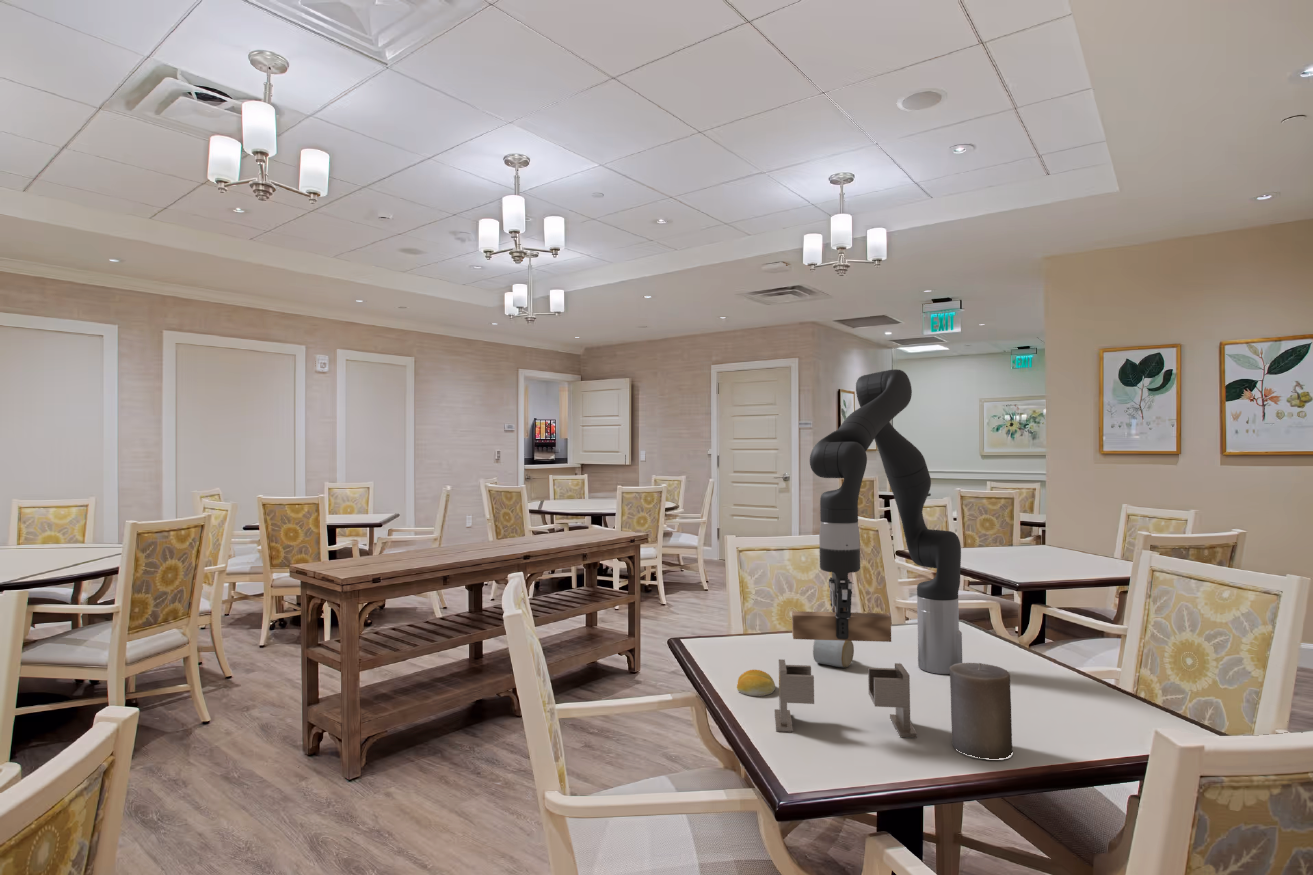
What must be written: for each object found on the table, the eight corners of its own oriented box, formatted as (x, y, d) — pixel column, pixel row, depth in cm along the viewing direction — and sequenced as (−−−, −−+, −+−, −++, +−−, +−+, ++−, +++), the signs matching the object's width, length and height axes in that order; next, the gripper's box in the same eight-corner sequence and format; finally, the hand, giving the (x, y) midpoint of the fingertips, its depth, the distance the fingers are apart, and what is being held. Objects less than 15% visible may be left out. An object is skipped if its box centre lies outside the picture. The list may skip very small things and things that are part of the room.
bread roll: (736, 696, 146) (735, 678, 146) (738, 683, 155) (738, 665, 155) (775, 698, 145) (774, 679, 145) (775, 684, 153) (775, 666, 154)
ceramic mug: (844, 672, 162) (844, 639, 162) (812, 665, 166) (812, 634, 167) (860, 661, 170) (859, 630, 170) (828, 656, 175) (828, 626, 175)
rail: (887, 636, 131) (887, 613, 131) (891, 641, 127) (890, 617, 127) (792, 634, 133) (791, 611, 133) (793, 638, 130) (793, 615, 130)
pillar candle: (1024, 752, 117) (1021, 664, 118) (992, 766, 112) (989, 674, 112) (971, 734, 125) (969, 652, 126) (939, 746, 120) (937, 660, 121)
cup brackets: (905, 719, 132) (904, 662, 133) (917, 737, 123) (915, 676, 124) (774, 713, 136) (773, 657, 136) (776, 731, 127) (775, 671, 127)
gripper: (865, 550, 123) (867, 646, 123) (854, 541, 137) (855, 627, 137) (823, 550, 124) (824, 645, 124) (816, 540, 138) (817, 626, 138)
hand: (840, 635), depth 130 cm, fingers closed on rail, 3 cm apart
